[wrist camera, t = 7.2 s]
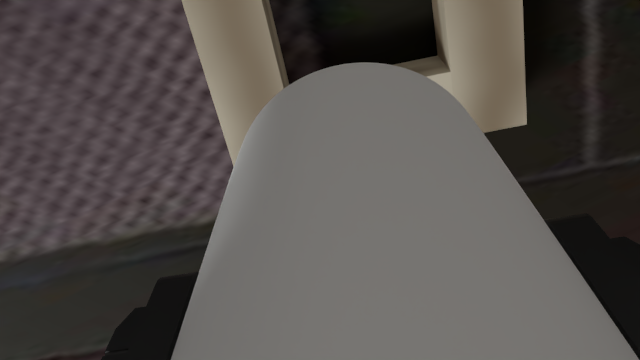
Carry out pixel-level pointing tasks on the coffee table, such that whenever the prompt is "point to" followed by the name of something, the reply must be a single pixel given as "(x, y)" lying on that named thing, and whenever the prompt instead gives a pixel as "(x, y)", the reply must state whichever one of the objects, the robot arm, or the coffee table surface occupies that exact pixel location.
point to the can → (383, 238)
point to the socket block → (445, 69)
